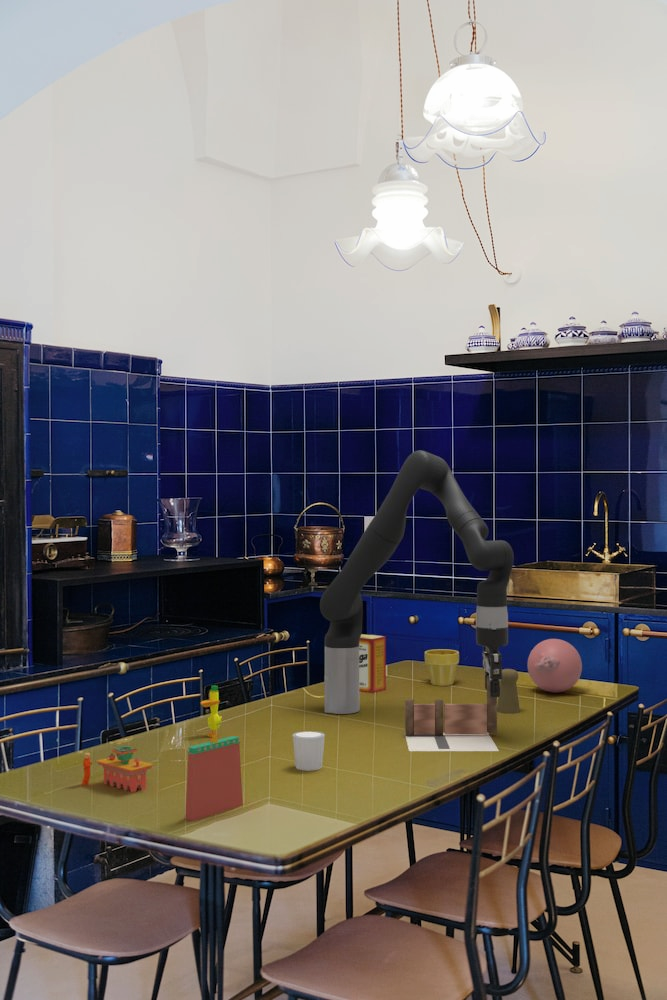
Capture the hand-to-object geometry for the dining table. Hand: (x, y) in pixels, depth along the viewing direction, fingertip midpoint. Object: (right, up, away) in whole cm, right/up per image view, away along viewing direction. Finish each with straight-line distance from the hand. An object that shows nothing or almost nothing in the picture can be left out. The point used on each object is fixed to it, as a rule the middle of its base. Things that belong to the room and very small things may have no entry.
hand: (492, 693), depth 254 cm
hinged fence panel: (-5, -10, 0) cm, 11 cm away
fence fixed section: (-16, -10, 0) cm, 19 cm away
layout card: (-11, -11, -6) cm, 16 cm away
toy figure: (-67, -11, +2) cm, 67 cm away
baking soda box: (-28, -10, +60) cm, 67 cm away
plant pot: (-5, -10, +69) cm, 70 cm away
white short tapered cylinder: (-43, -11, -27) cm, 52 cm away
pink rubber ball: (+25, -10, +54) cm, 60 cm away
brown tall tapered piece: (+9, -10, +30) cm, 33 cm away
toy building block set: (-72, -12, -47) cm, 87 cm away
